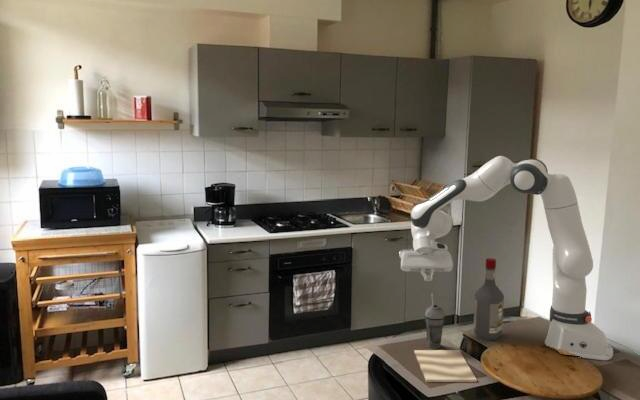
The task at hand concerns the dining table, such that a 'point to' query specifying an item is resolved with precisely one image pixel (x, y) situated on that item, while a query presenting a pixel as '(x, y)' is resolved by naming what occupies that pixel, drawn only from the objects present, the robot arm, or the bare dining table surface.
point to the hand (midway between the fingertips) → (428, 280)
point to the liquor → (488, 306)
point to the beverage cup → (434, 325)
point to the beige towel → (444, 366)
